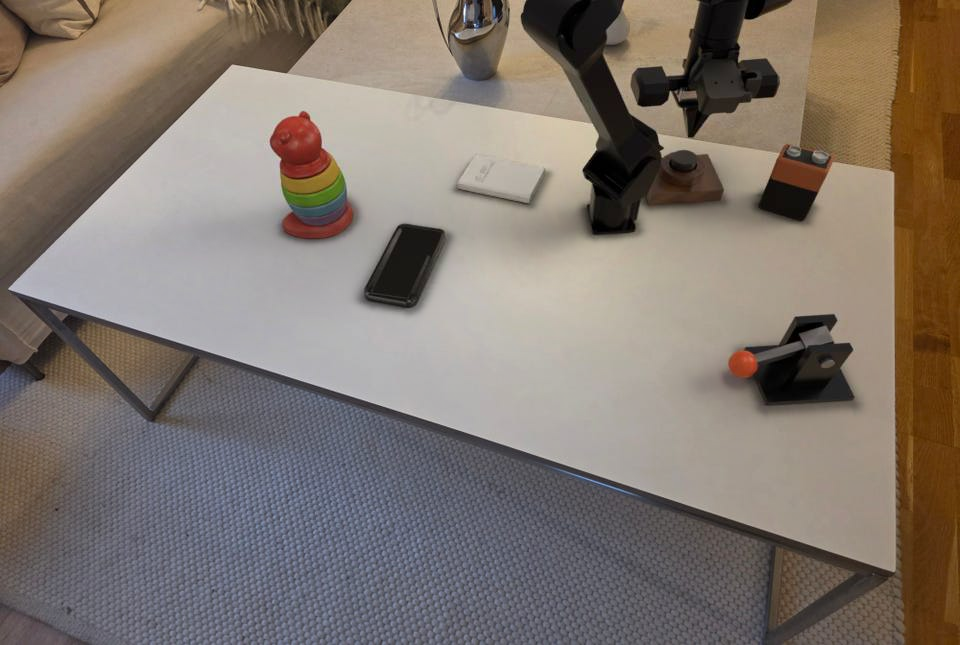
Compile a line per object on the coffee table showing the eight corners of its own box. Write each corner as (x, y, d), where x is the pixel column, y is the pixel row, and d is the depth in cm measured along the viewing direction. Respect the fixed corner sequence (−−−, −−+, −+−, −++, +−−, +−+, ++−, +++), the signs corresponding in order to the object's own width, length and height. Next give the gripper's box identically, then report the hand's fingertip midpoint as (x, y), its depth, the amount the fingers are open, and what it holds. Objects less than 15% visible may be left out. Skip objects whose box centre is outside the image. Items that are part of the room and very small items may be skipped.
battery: (803, 222, 87) (831, 167, 79) (756, 208, 89) (779, 153, 82) (811, 205, 89) (838, 149, 81) (765, 192, 92) (787, 136, 84)
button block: (649, 205, 91) (653, 185, 88) (637, 169, 97) (641, 149, 94) (720, 200, 91) (727, 179, 88) (704, 165, 97) (710, 144, 93)
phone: (361, 294, 82) (399, 222, 91) (363, 299, 83) (400, 227, 92) (414, 303, 80) (447, 229, 89) (415, 308, 81) (448, 235, 90)
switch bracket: (763, 408, 68) (790, 366, 62) (742, 352, 73) (764, 307, 67) (850, 402, 68) (887, 359, 61) (823, 347, 73) (854, 301, 66)
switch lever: (735, 386, 69) (730, 373, 67) (727, 363, 71) (722, 350, 69) (837, 357, 65) (835, 342, 63) (826, 334, 67) (823, 319, 65)
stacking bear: (320, 190, 99) (286, 92, 85) (369, 206, 95) (342, 107, 81) (278, 230, 93) (234, 133, 79) (328, 249, 90) (292, 151, 76)
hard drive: (529, 205, 93) (457, 189, 97) (545, 174, 98) (476, 160, 101) (529, 197, 92) (457, 181, 95) (545, 166, 96) (476, 152, 100)
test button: (673, 174, 90) (675, 165, 89) (668, 160, 92) (670, 150, 91) (697, 172, 90) (699, 163, 89) (691, 158, 92) (693, 148, 91)
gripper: (657, 67, 70) (637, 174, 82) (815, 55, 69) (772, 165, 82) (638, 24, 77) (622, 128, 89) (782, 13, 76) (746, 119, 89)
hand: (689, 136), depth 87 cm, fingers closed
